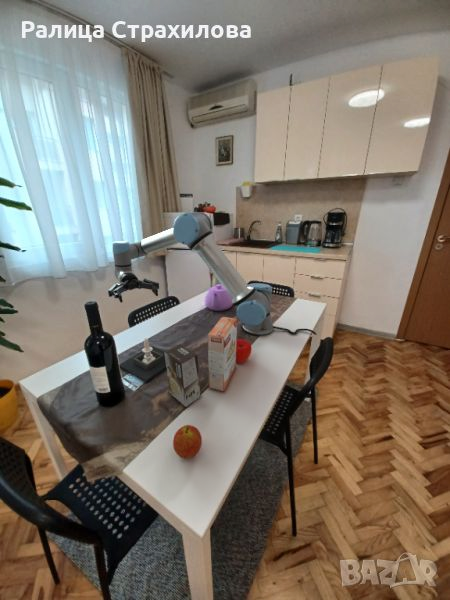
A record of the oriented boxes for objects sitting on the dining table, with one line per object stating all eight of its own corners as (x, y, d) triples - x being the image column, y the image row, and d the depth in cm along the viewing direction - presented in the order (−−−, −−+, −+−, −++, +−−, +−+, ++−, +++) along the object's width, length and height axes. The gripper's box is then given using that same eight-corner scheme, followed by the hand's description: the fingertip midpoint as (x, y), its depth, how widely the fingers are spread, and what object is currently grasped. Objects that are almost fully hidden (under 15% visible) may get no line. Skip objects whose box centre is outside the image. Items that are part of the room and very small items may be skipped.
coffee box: (201, 396, 77) (199, 354, 71) (185, 407, 73) (181, 364, 67) (183, 383, 83) (180, 343, 77) (168, 392, 79) (163, 351, 73)
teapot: (208, 298, 158) (207, 278, 153) (235, 299, 156) (235, 279, 151) (200, 314, 135) (198, 291, 130) (231, 316, 133) (231, 293, 128)
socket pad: (178, 359, 96) (178, 353, 95) (146, 382, 83) (145, 375, 82) (151, 347, 104) (150, 341, 103) (119, 367, 91) (117, 360, 90)
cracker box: (225, 392, 79) (224, 337, 71) (208, 388, 80) (206, 334, 73) (236, 367, 91) (237, 318, 83) (222, 364, 93) (221, 315, 85)
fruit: (178, 470, 56) (175, 446, 53) (171, 445, 61) (168, 422, 58) (206, 457, 58) (205, 434, 55) (197, 434, 64) (195, 412, 61)
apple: (247, 369, 90) (248, 351, 87) (225, 364, 93) (225, 347, 90) (253, 356, 98) (254, 339, 95) (233, 352, 100) (233, 335, 97)
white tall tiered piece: (144, 366, 90) (140, 343, 86) (140, 360, 94) (136, 337, 90) (157, 361, 93) (154, 338, 89) (153, 355, 97) (150, 333, 93)
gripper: (155, 283, 117) (171, 298, 100) (99, 292, 105) (106, 311, 88) (154, 268, 114) (169, 282, 97) (96, 276, 102) (102, 292, 85)
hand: (139, 296), depth 93 cm, fingers open, 13 cm apart
